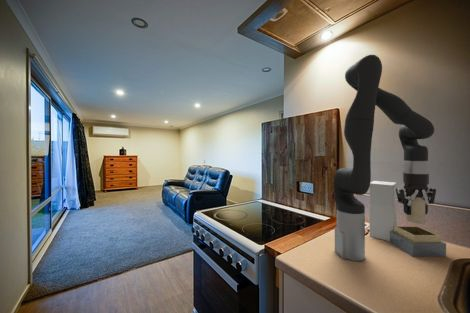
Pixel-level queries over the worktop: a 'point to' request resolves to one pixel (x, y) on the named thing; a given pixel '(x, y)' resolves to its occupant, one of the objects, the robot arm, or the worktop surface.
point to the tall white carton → (382, 209)
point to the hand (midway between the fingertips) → (415, 213)
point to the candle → (417, 211)
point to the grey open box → (417, 241)
